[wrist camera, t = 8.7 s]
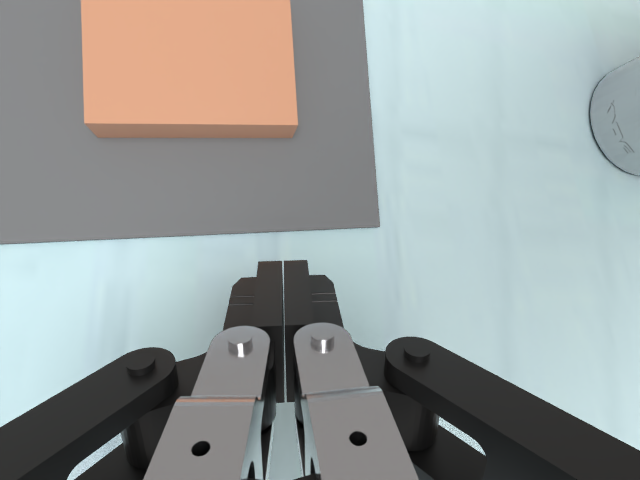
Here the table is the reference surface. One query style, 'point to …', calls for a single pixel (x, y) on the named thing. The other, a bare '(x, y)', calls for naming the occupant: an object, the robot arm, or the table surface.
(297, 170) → the mat
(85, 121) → the tile
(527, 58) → the table surface
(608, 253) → the table surface
